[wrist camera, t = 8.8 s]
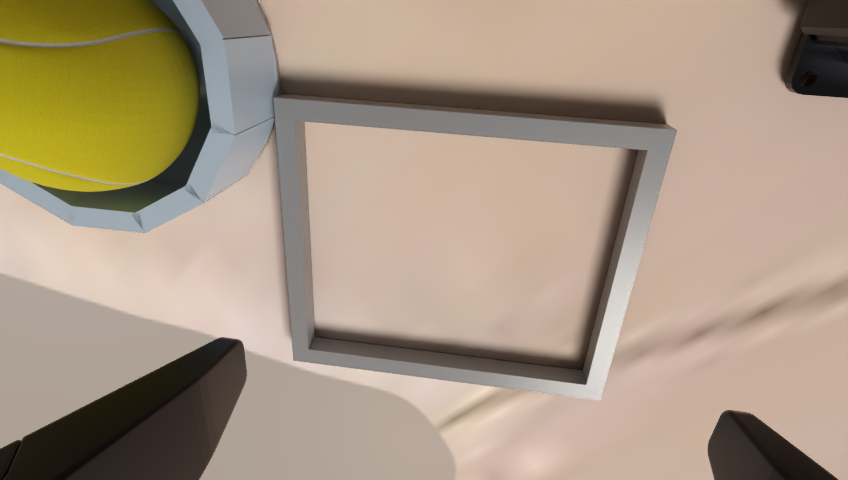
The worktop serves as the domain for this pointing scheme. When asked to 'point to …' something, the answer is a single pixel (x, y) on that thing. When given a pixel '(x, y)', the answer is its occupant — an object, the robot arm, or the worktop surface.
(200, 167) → the bowl
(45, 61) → the tennis ball
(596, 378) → the grey square frame
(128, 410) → the robot arm
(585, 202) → the worktop surface
